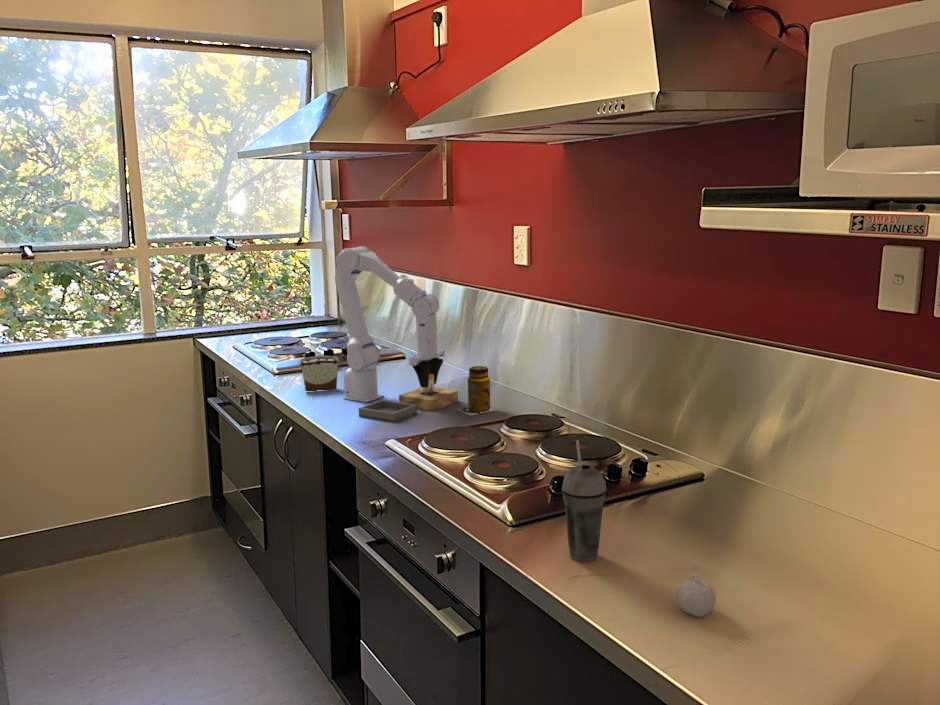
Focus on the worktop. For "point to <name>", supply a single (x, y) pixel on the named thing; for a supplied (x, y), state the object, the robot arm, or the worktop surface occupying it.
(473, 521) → the worktop surface
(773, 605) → the worktop surface
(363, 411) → the tray
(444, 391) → the socket block
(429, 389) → the small glass vial
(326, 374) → the food container
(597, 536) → the beverage cup
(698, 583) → the garlic
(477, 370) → the condiment
